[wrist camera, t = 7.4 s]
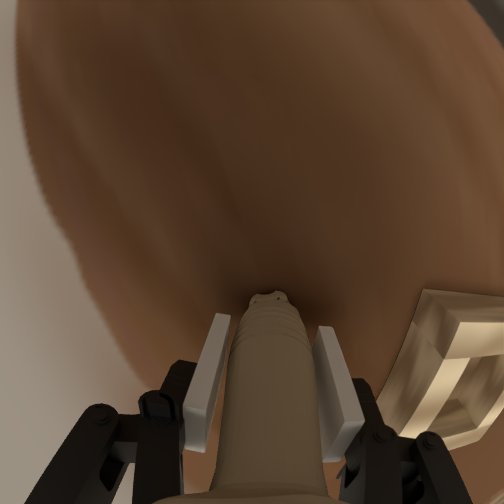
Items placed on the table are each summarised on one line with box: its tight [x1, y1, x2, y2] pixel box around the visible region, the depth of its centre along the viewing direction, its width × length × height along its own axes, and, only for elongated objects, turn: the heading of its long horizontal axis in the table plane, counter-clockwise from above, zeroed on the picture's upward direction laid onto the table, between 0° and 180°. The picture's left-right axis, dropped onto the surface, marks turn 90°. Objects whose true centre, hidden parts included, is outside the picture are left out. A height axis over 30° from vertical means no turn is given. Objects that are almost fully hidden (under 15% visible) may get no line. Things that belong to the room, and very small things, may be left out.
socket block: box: [376, 288, 504, 450], centre depth 16 cm, size 14×12×5 cm
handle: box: [153, 291, 350, 504], centre depth 11 cm, size 5×6×15 cm
